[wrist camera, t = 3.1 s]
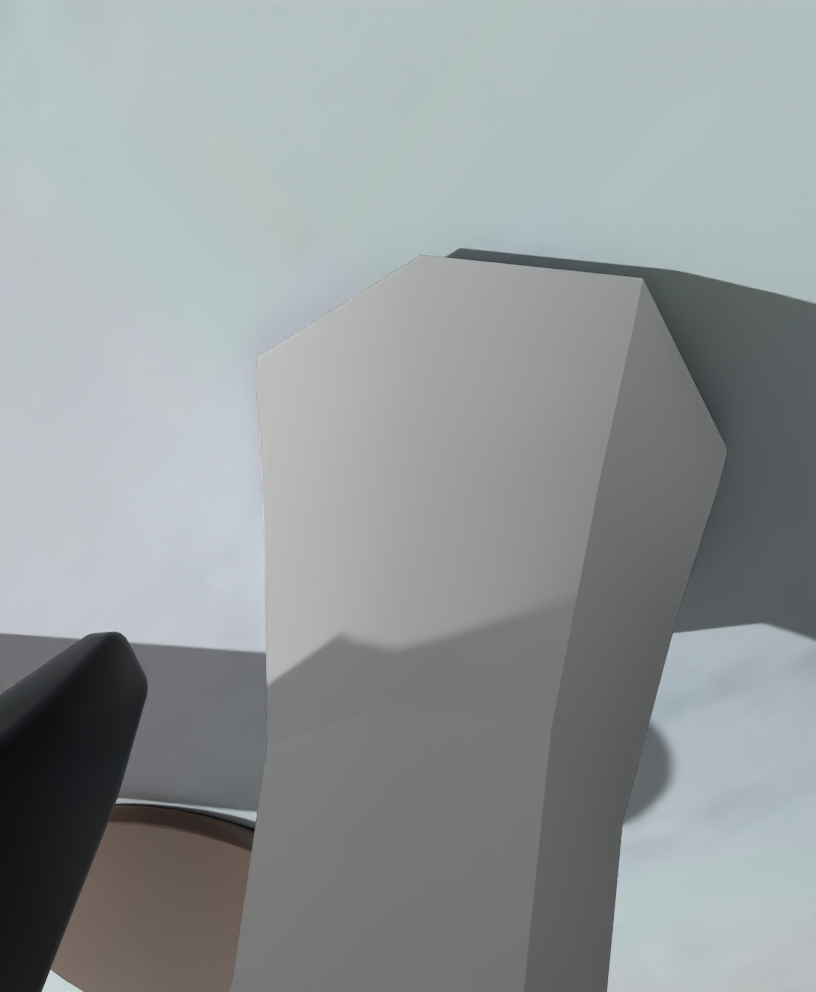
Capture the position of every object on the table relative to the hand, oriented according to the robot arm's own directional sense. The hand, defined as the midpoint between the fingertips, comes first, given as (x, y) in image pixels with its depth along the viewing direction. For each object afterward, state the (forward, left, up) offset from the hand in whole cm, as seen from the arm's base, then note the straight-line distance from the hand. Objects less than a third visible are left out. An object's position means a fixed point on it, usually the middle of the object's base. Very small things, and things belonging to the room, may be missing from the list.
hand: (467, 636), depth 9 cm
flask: (0, 0, -4) cm, 4 cm away
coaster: (+10, +13, -4) cm, 17 cm away
